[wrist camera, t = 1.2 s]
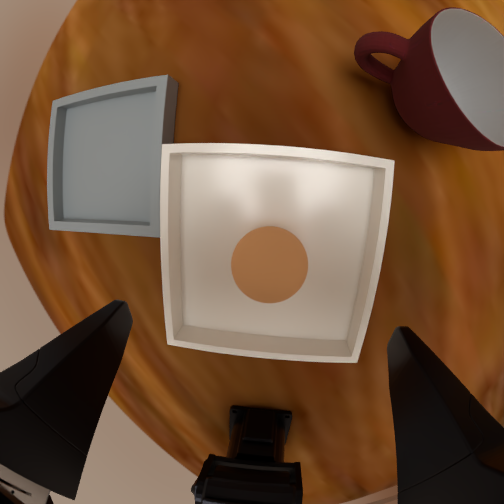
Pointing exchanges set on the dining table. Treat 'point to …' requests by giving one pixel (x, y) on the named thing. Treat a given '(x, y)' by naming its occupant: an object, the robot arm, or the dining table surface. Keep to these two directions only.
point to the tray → (110, 157)
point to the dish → (278, 215)
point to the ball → (269, 264)
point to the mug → (445, 78)
